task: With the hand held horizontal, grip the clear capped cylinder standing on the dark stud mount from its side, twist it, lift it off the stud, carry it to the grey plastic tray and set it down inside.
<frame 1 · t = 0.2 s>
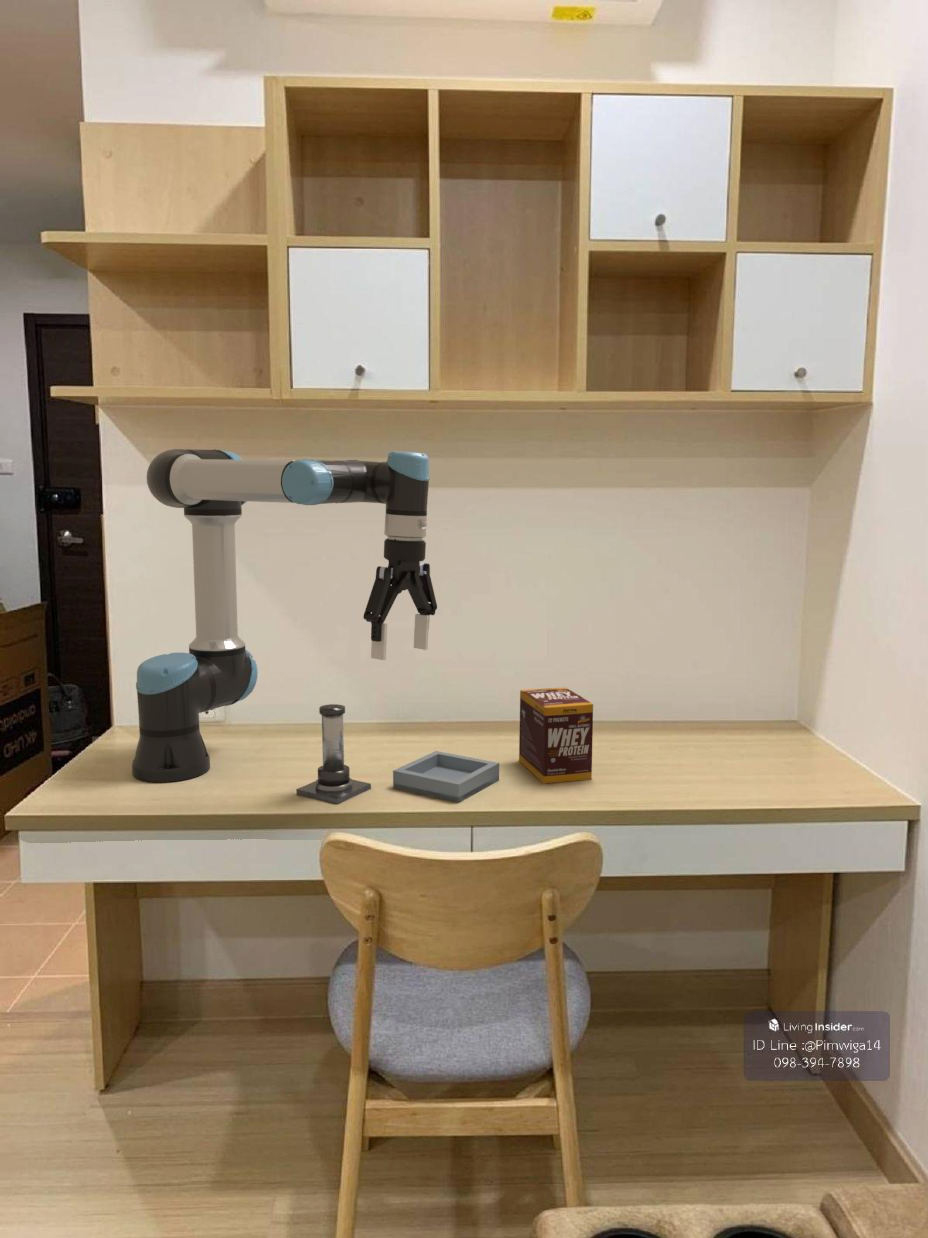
hand: (400, 653, 171), 27 cm above the table, tool pointing down, fingers open, 13 cm apart
clear capped cylinder: (333, 781, 177), point 2 cm above the table, touching stud mount
tray: (446, 783, 181), on the table
supplement box: (554, 771, 190), on the table
stud mount: (334, 791, 177), on the table
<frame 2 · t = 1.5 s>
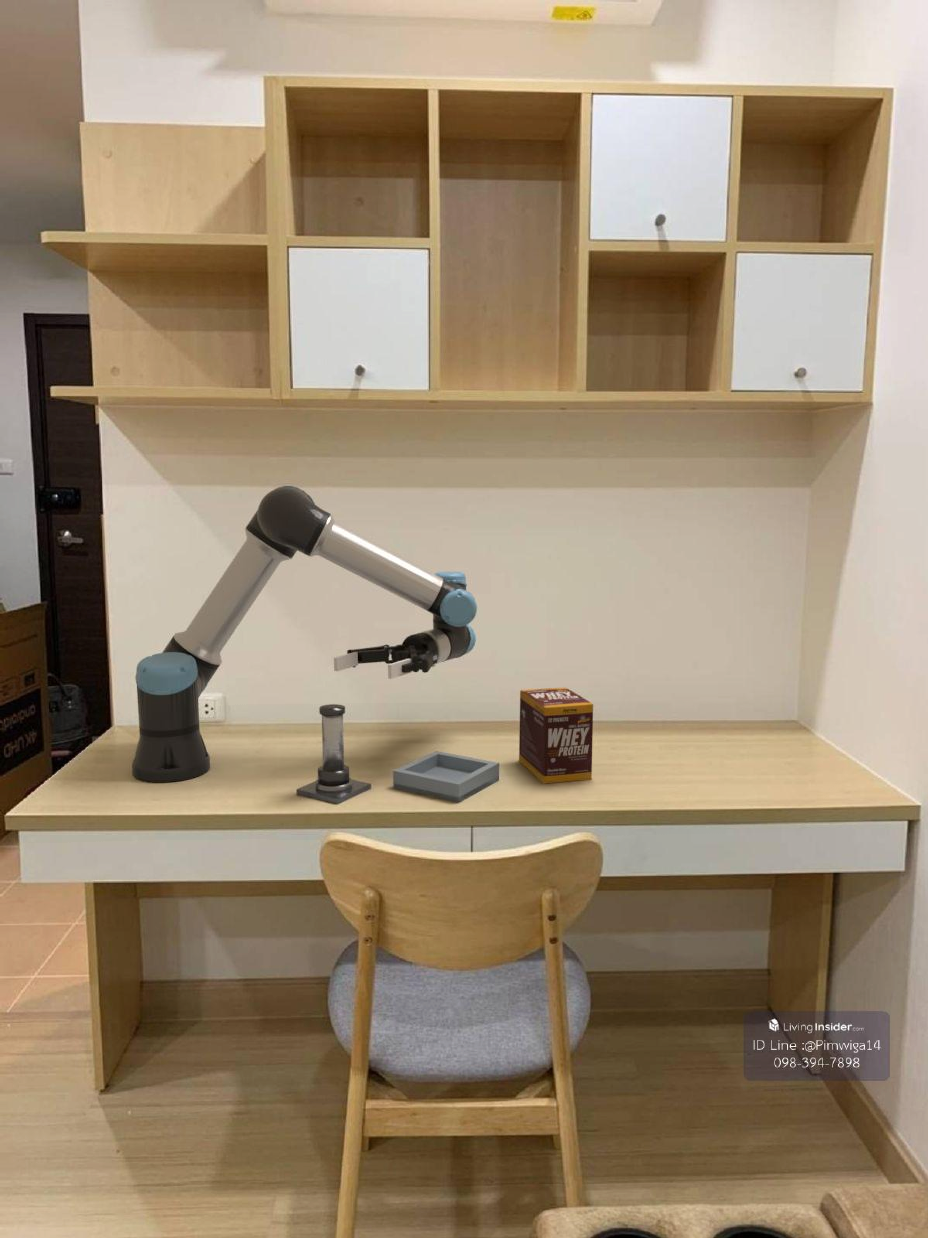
hand: (361, 668, 181), 22 cm above the table, tool horizontal, fingers open, 13 cm apart
nothing on the table moved.
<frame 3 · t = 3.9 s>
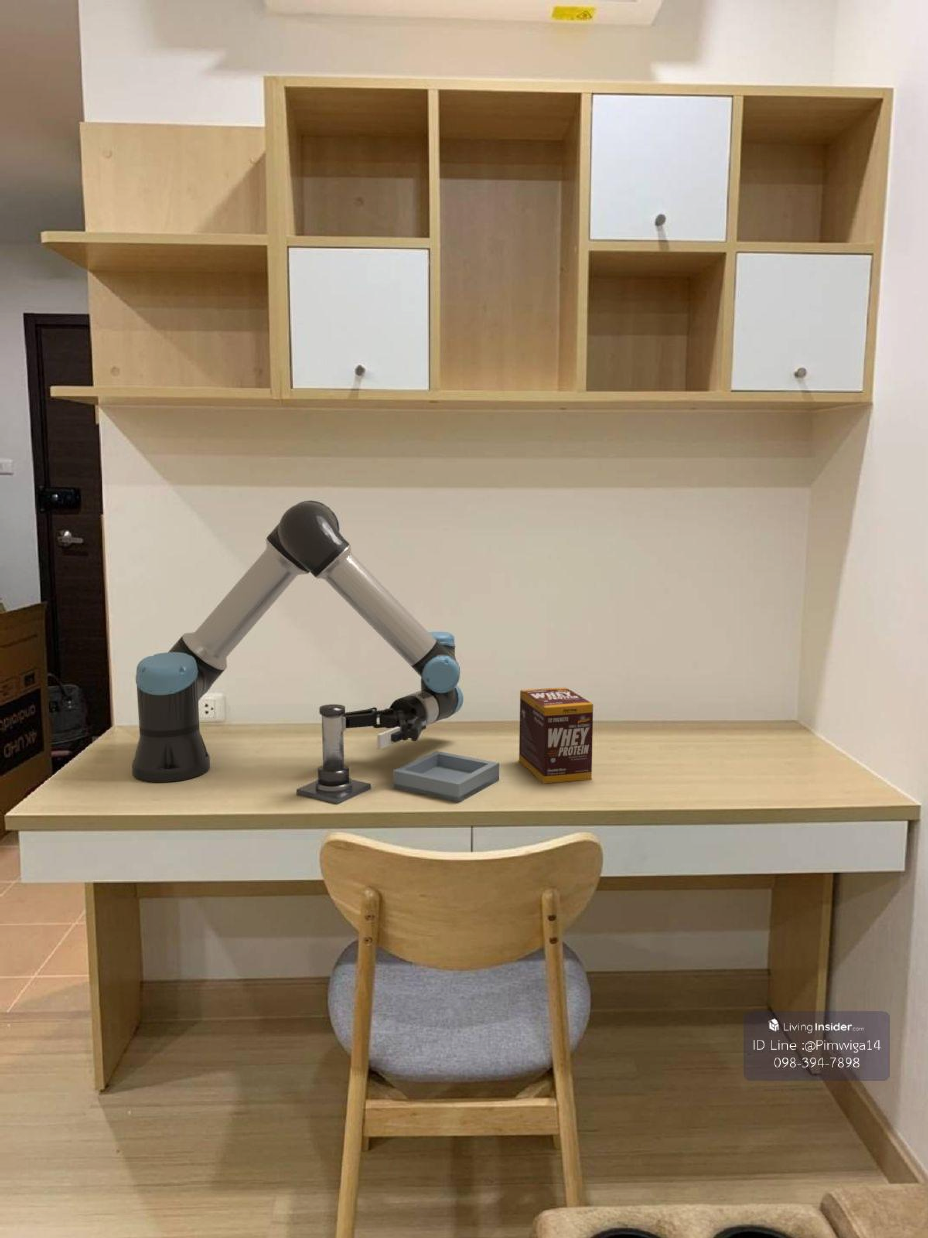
hand: (350, 736, 179), 10 cm above the table, tool horizontal, fingers open, 13 cm apart
nothing on the table moved.
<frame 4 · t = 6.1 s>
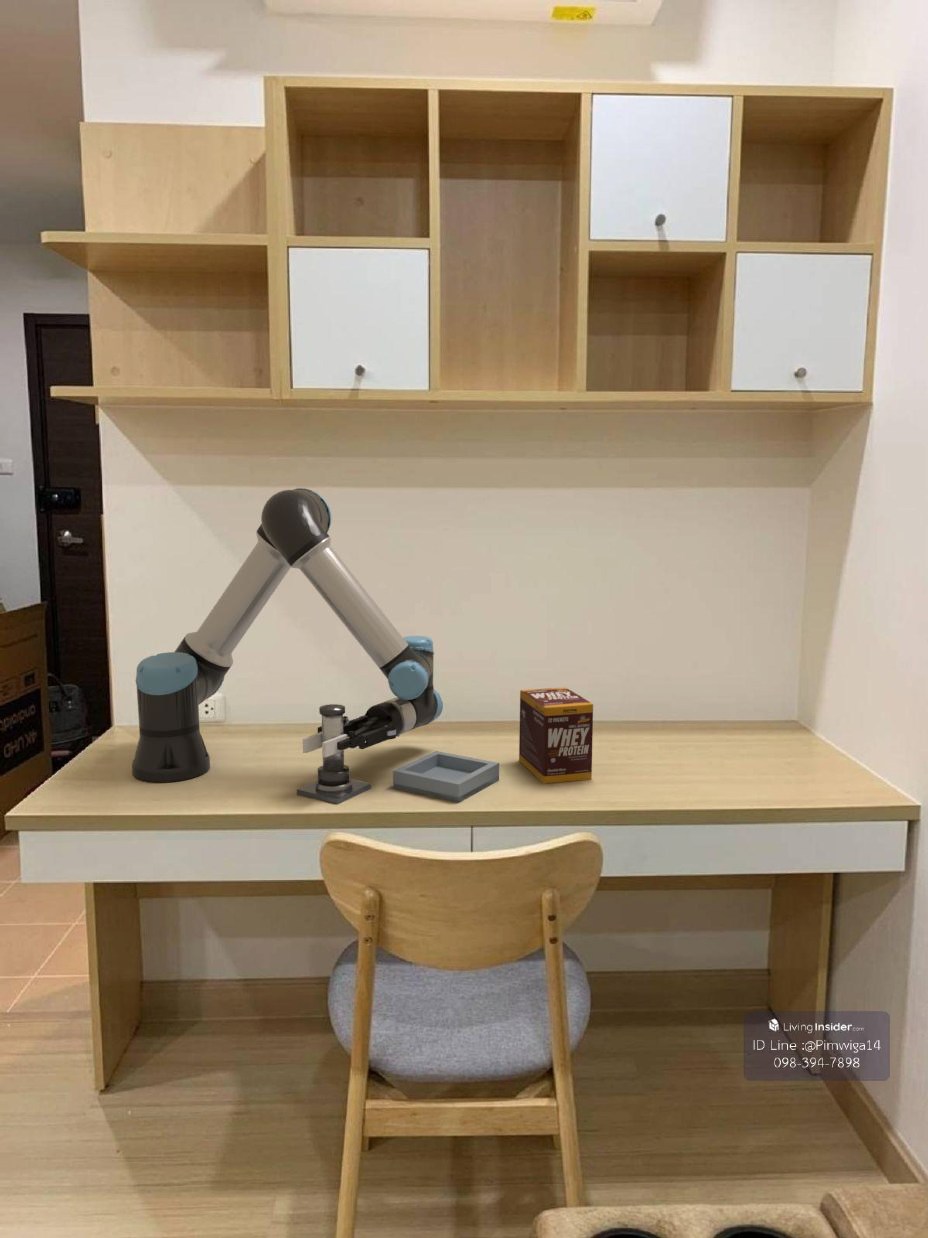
hand: (314, 747, 171), 10 cm above the table, tool horizontal, fingers closed on clear capped cylinder, 4 cm apart
clear capped cylinder: (333, 781, 177), point 2 cm above the table, touching gripper, stud mount
everything else where it was.
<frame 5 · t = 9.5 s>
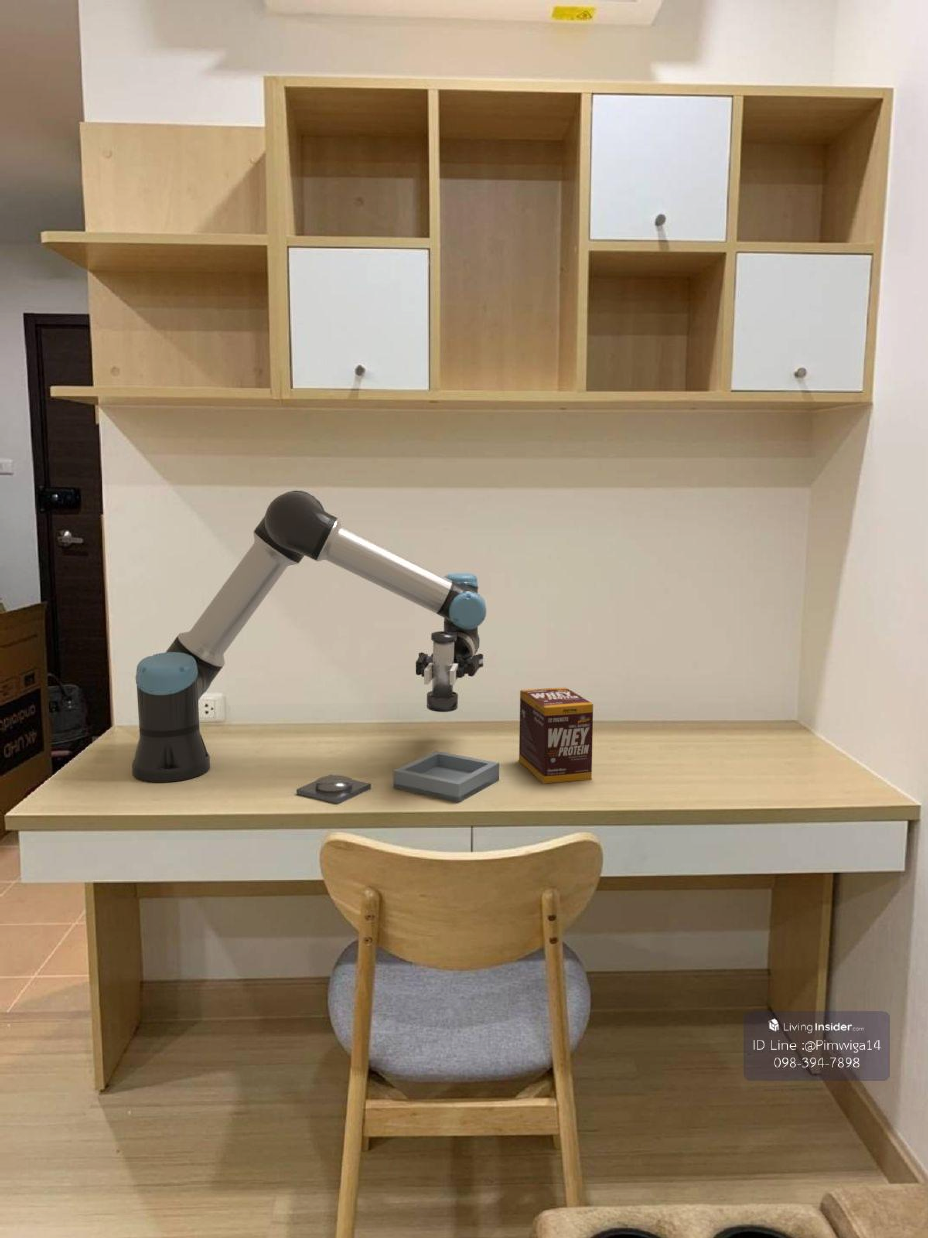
hand: (439, 677, 172), 23 cm above the table, tool horizontal, fingers closed on clear capped cylinder, 4 cm apart
clear capped cylinder: (442, 707, 179), point 15 cm above the table, touching gripper
everything else where it was.
when the fingers open (10 cm above the table, at t = 12.1 s): clear capped cylinder drops 2 cm, resting on tray.
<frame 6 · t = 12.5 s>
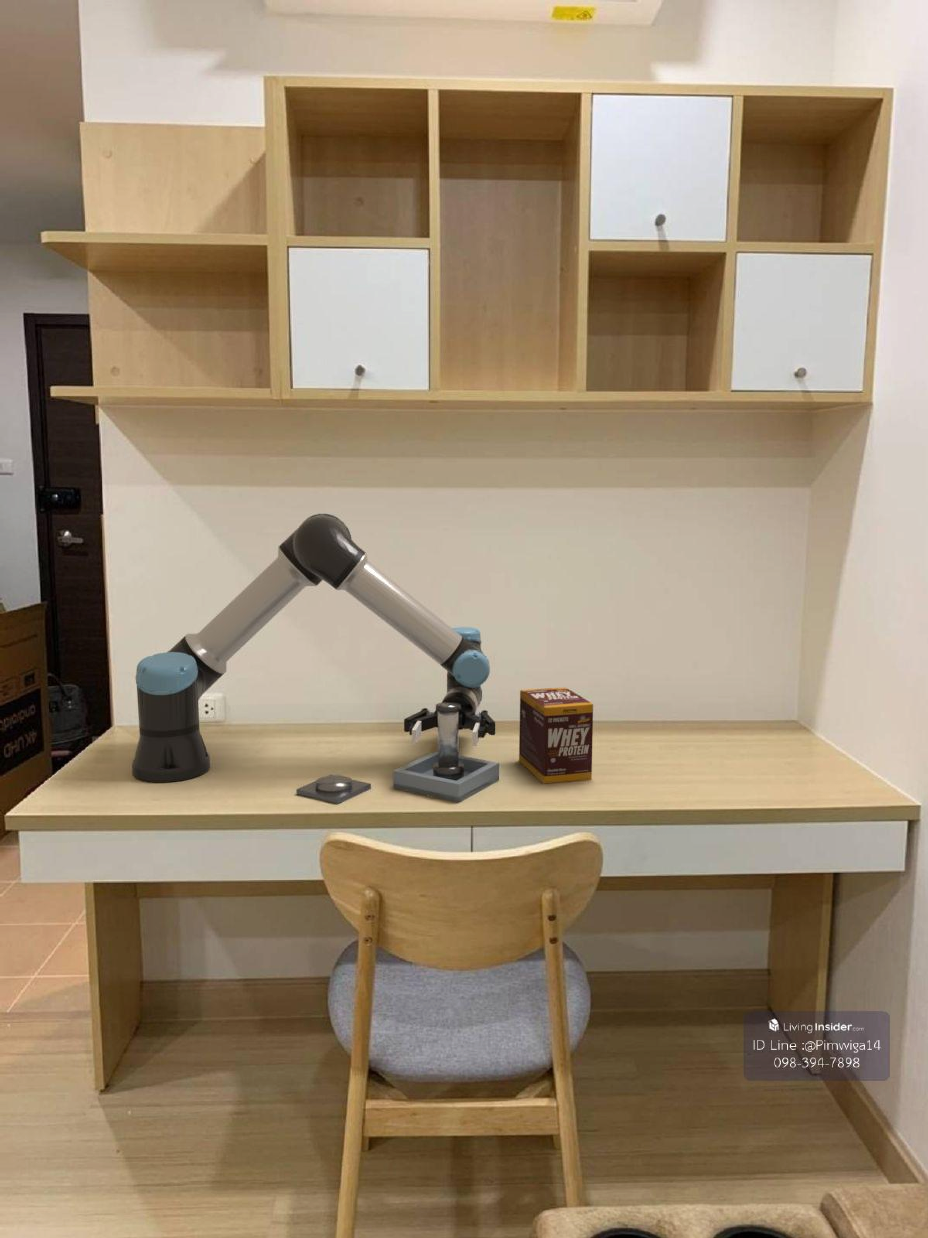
hand: (443, 737, 176), 10 cm above the table, tool horizontal, fingers open, 11 cm apart
clear capped cylinder: (448, 777, 182), point 1 cm above the table, touching tray
everything else where it was.
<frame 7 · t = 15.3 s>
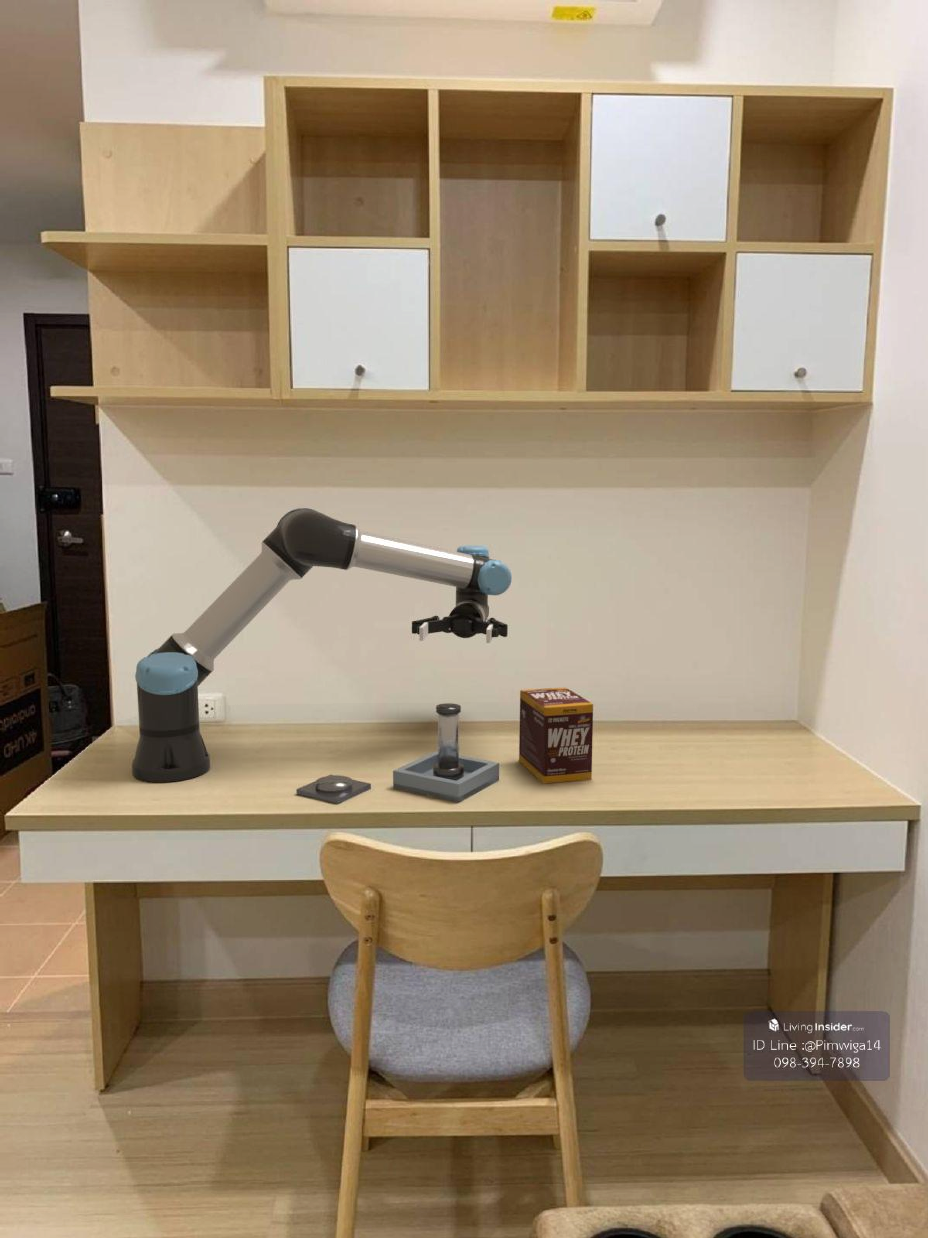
hand: (454, 635, 187), 28 cm above the table, tool horizontal, fingers open, 13 cm apart
nothing on the table moved.
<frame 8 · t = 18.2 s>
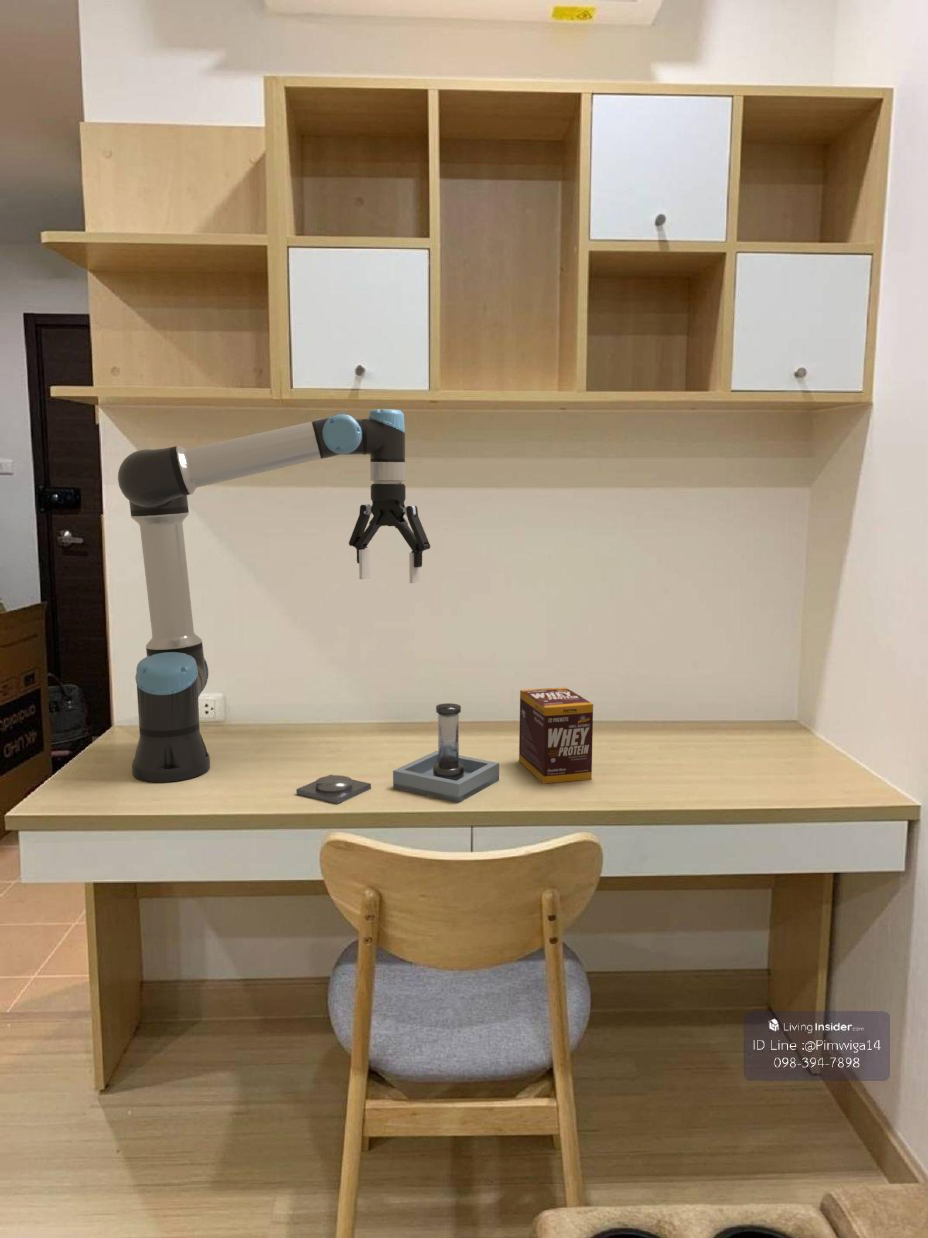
hand: (389, 580, 203), 37 cm above the table, tool pointing down, fingers open, 13 cm apart
nothing on the table moved.
at the end: clear capped cylinder inside the target area on the tray (0.5 cm from its centre), point 1.0 cm above the tray's base; clear capped cylinder tilted 0°; the gripper is holding nothing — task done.
